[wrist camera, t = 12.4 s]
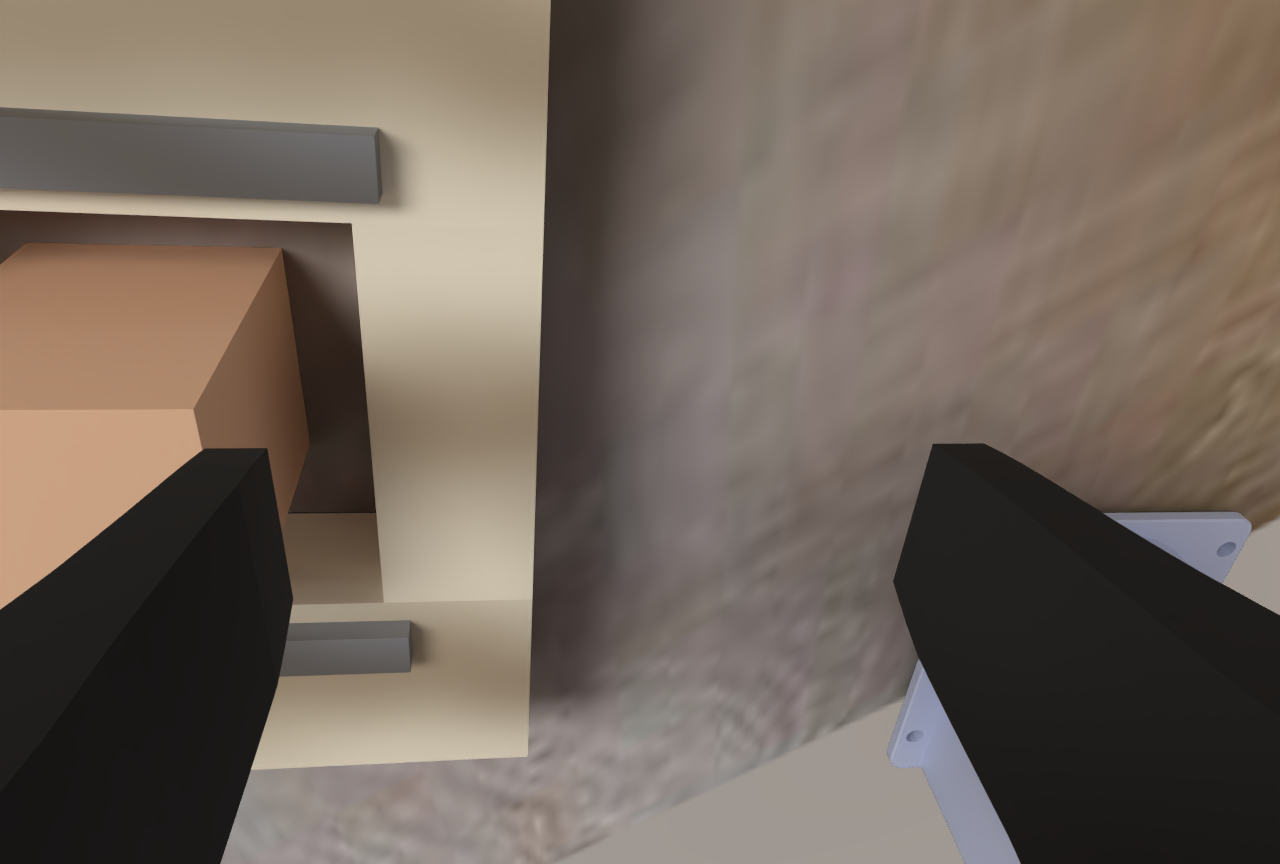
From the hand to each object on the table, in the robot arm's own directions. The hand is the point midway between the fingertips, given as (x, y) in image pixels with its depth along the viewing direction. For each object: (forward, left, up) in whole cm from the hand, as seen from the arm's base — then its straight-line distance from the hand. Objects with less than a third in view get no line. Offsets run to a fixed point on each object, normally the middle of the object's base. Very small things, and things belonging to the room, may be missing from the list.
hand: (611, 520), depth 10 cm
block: (-3, +8, -9) cm, 12 cm away
